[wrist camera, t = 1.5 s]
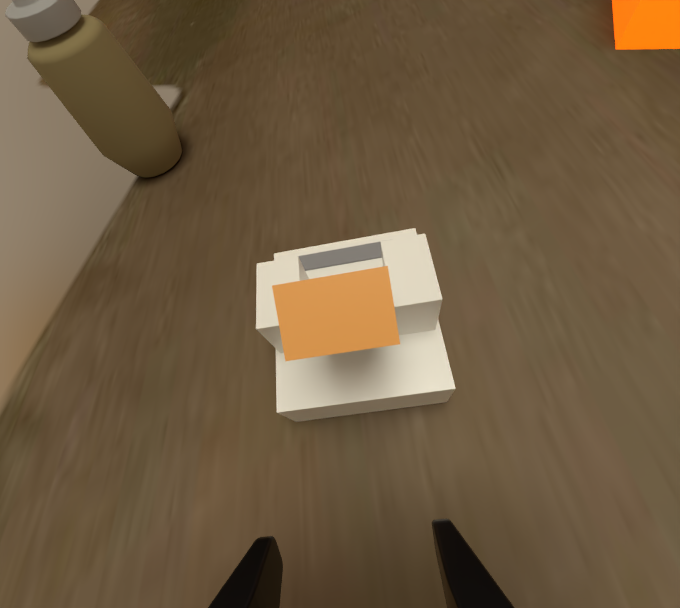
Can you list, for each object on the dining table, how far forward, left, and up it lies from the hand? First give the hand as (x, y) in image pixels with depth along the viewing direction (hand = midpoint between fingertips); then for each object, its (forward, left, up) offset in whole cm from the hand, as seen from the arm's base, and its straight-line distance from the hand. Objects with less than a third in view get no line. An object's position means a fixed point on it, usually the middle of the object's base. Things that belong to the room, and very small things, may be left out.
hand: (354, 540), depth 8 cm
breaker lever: (+9, +6, -9) cm, 14 cm away
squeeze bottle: (+17, +36, -14) cm, 42 cm away
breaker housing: (+9, +6, -14) cm, 17 cm away
